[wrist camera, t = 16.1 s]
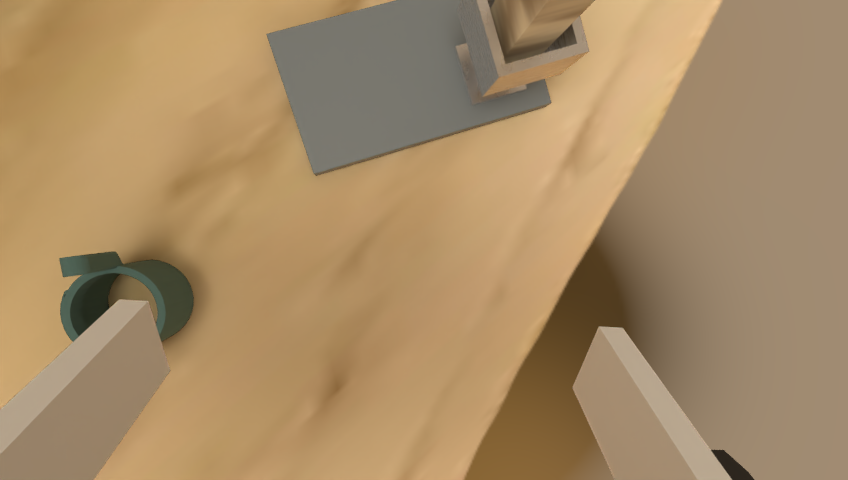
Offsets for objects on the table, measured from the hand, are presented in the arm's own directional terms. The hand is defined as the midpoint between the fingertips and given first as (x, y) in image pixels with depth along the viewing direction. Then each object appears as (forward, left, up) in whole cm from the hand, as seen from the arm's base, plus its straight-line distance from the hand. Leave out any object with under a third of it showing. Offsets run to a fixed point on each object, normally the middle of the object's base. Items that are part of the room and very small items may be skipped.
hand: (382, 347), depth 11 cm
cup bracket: (-15, +17, -27) cm, 36 cm away
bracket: (-3, -24, -29) cm, 38 cm away
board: (-17, +9, -29) cm, 35 cm away
